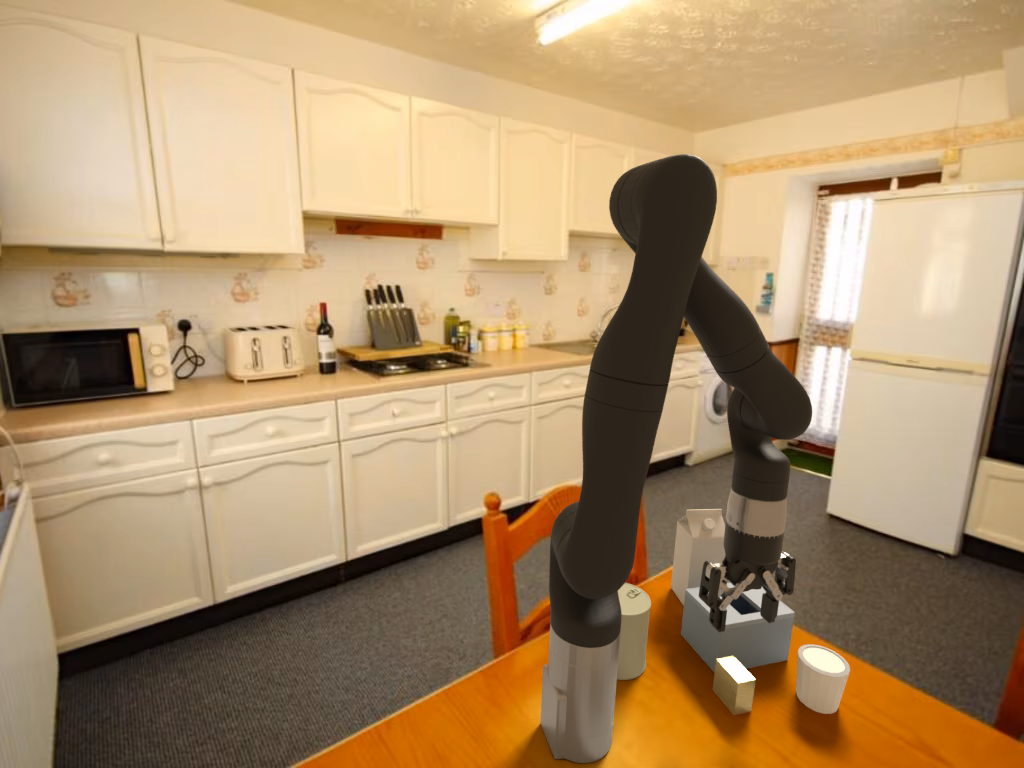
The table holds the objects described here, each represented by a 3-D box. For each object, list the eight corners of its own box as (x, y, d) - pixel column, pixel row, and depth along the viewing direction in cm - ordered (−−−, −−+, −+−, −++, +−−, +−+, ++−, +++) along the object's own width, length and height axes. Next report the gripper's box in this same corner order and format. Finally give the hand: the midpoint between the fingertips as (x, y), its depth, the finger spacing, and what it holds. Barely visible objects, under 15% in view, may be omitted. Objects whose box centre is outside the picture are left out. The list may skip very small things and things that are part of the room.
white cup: (850, 721, 77) (858, 679, 75) (799, 712, 78) (806, 671, 76) (832, 686, 83) (839, 647, 82) (785, 678, 84) (791, 640, 83)
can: (657, 665, 87) (664, 600, 84) (618, 689, 81) (623, 620, 79) (616, 633, 94) (621, 573, 91) (578, 653, 89) (581, 589, 86)
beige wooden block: (733, 715, 77) (738, 683, 76) (712, 689, 82) (716, 658, 81) (751, 711, 78) (755, 679, 77) (729, 686, 83) (733, 655, 81)
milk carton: (670, 588, 108) (679, 502, 104) (703, 586, 109) (713, 501, 105) (685, 609, 101) (695, 518, 97) (720, 608, 102) (731, 517, 98)
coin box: (716, 674, 85) (722, 625, 83) (680, 634, 94) (685, 589, 92) (787, 660, 89) (795, 612, 87) (746, 622, 98) (752, 578, 96)
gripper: (728, 540, 68) (717, 649, 72) (818, 528, 72) (802, 632, 75) (694, 515, 75) (685, 615, 79) (777, 505, 79) (765, 601, 82)
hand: (742, 623), depth 77 cm, fingers open, 8 cm apart
